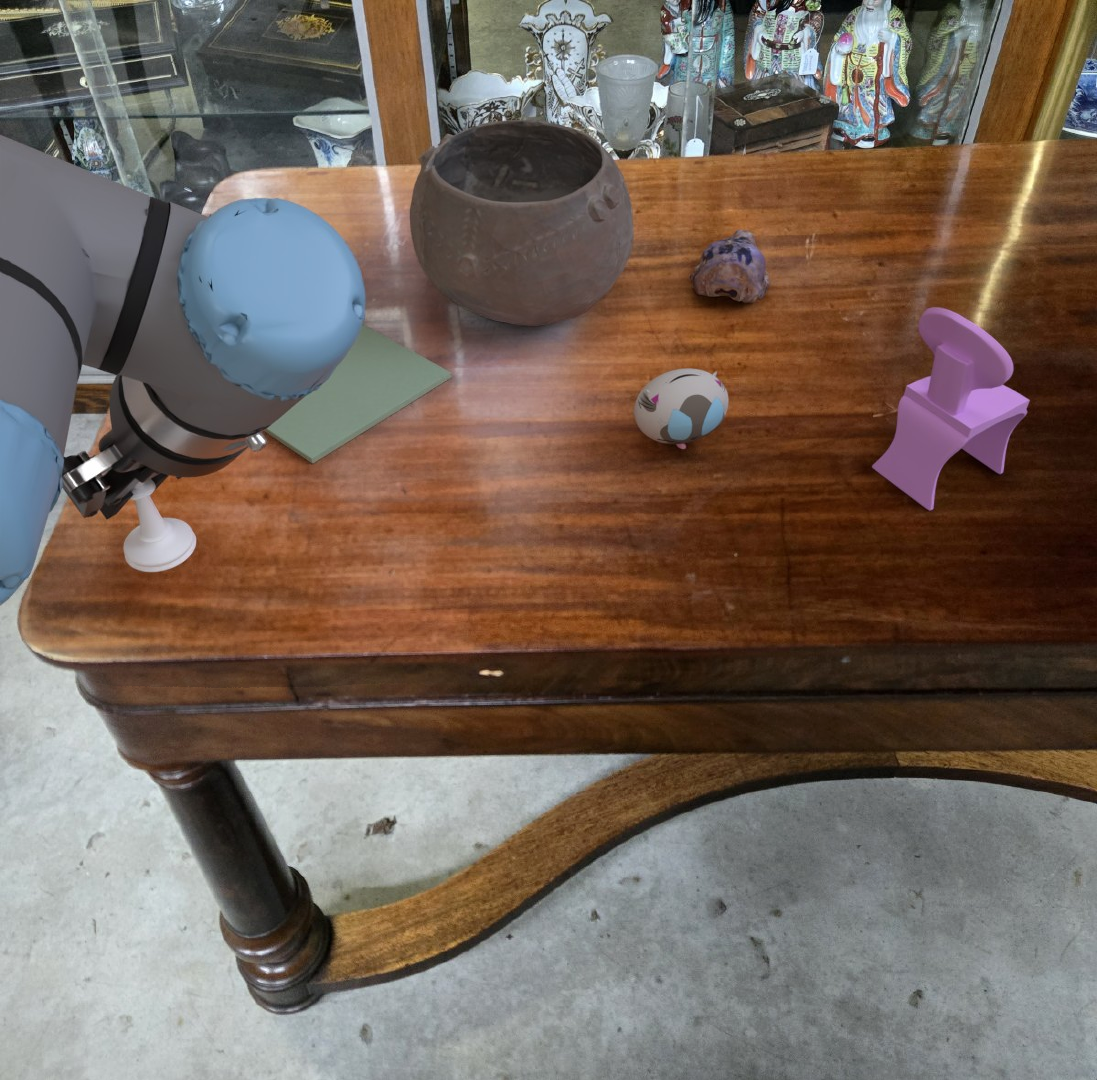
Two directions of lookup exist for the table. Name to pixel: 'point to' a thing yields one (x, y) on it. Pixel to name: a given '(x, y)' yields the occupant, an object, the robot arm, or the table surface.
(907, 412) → the toy chair
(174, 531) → the chess piece
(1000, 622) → the table surface
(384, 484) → the table surface
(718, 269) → the purple rounded piece
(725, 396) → the figurine
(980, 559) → the table surface
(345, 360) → the mat
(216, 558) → the table surface
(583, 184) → the clay pot
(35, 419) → the robot arm
